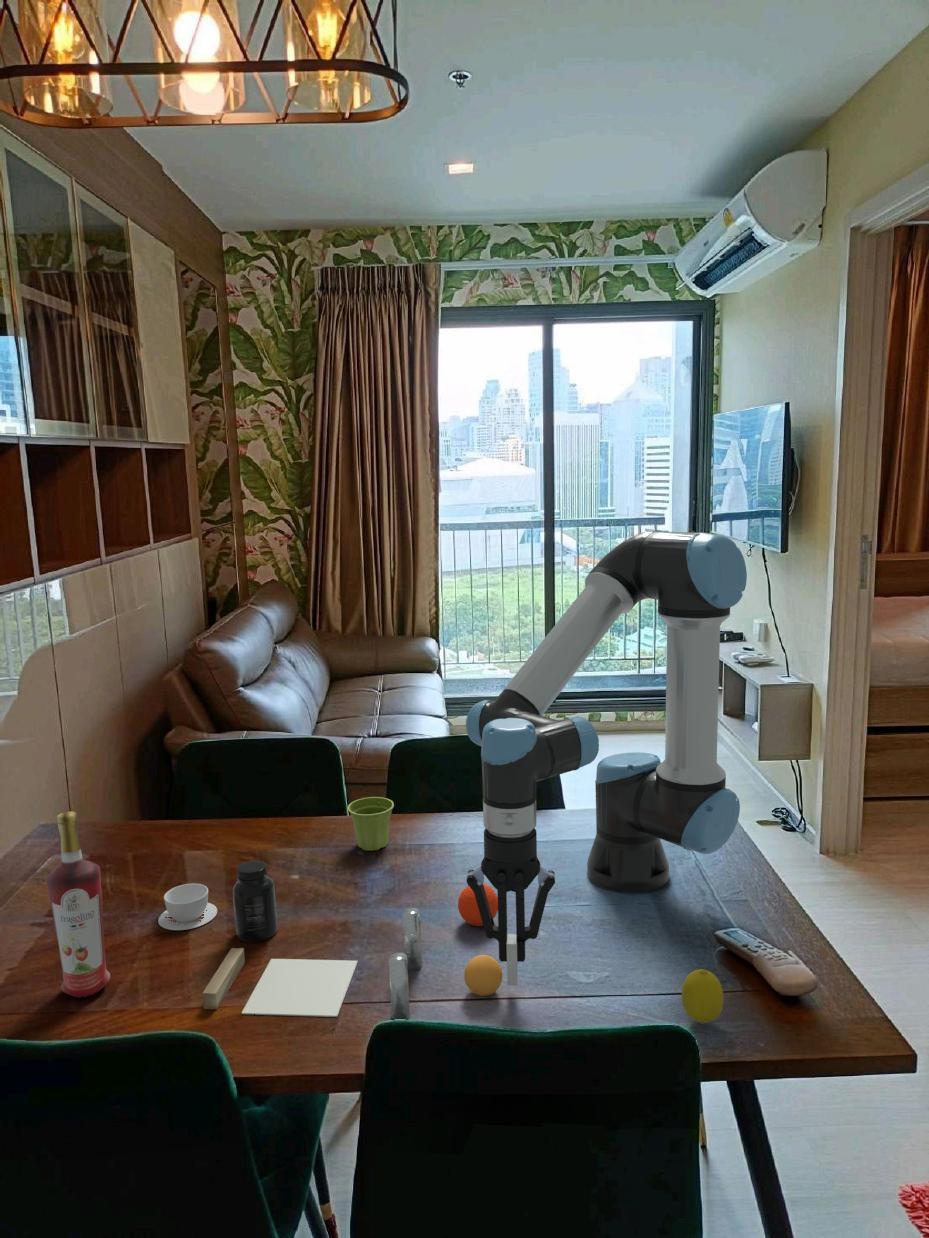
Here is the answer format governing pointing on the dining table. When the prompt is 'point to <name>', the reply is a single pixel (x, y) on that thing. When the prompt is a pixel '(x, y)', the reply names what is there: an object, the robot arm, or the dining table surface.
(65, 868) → the liquor
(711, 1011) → the lemon
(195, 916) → the teacup
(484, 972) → the ball
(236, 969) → the wall
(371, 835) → the plant pot
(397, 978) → the post
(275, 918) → the supplement bottle
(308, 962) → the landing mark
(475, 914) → the clementine
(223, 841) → the dining table surface
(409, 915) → the post
